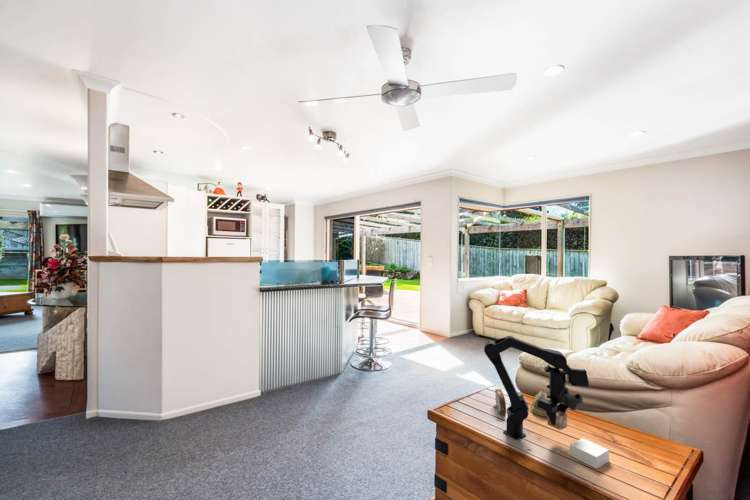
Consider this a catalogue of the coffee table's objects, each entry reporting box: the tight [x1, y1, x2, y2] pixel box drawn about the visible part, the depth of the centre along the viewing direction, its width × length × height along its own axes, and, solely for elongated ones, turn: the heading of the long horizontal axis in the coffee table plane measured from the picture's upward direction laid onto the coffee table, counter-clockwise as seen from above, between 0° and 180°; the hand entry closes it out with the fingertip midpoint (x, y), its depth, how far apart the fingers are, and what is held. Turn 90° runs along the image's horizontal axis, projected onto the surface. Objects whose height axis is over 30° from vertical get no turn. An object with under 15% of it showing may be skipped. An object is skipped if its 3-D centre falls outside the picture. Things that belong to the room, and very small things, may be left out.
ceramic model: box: [530, 388, 550, 417], centre depth 158 cm, size 14×11×10 cm
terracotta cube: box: [547, 411, 568, 431], centre depth 130 cm, size 5×5×5 cm
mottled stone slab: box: [494, 388, 507, 415], centre depth 158 cm, size 15×3×8 cm, turn 168°
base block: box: [569, 437, 610, 470], centre depth 120 cm, size 9×9×4 cm
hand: (557, 423), depth 130 cm, fingers closed on terracotta cube, 5 cm apart
